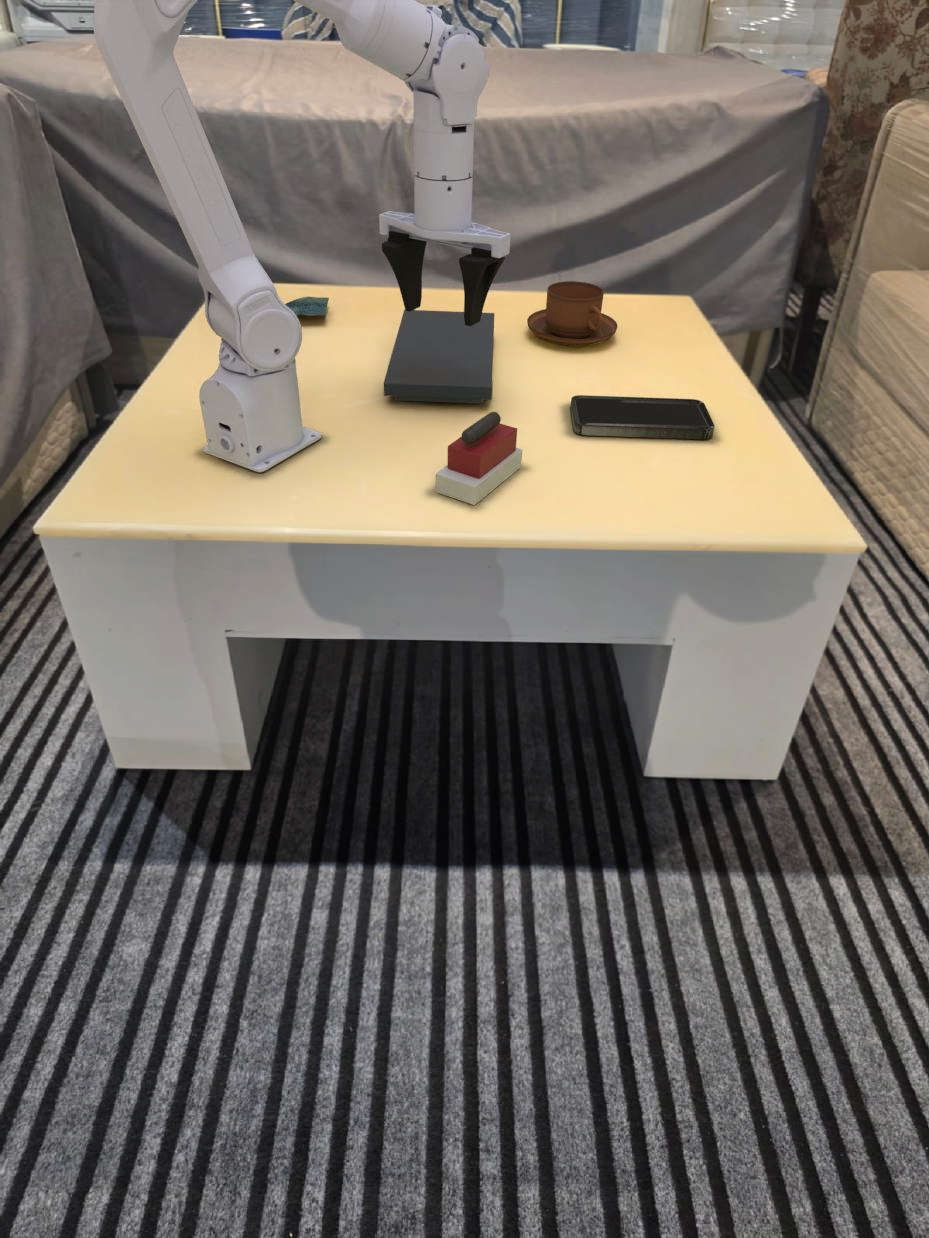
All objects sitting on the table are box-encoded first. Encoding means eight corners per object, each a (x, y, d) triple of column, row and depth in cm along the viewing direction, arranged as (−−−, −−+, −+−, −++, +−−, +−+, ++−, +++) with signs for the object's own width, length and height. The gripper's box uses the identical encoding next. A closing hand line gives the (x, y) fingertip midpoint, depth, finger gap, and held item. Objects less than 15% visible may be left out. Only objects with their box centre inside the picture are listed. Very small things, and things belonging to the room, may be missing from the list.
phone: (716, 430, 89) (575, 425, 89) (714, 440, 90) (574, 434, 90) (702, 399, 95) (570, 394, 95) (700, 408, 96) (569, 403, 96)
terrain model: (232, 327, 112) (230, 312, 111) (238, 310, 118) (236, 296, 117) (329, 325, 113) (328, 311, 112) (329, 309, 120) (328, 295, 118)
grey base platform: (490, 412, 94) (492, 387, 92) (384, 408, 94) (383, 383, 92) (493, 335, 112) (494, 312, 111) (404, 332, 113) (404, 309, 111)
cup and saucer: (632, 336, 113) (639, 290, 109) (581, 361, 106) (587, 312, 102) (561, 315, 119) (565, 270, 115) (508, 336, 112) (510, 289, 108)
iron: (474, 505, 78) (476, 445, 74) (435, 492, 80) (435, 432, 76) (521, 467, 84) (525, 409, 80) (483, 455, 86) (486, 398, 82)
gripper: (528, 178, 81) (519, 319, 89) (405, 159, 87) (407, 293, 95) (492, 191, 76) (486, 338, 85) (364, 170, 82) (370, 310, 90)
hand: (442, 316), depth 90 cm, fingers open, 7 cm apart
